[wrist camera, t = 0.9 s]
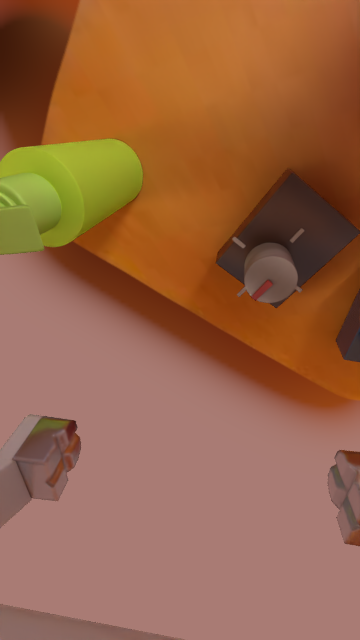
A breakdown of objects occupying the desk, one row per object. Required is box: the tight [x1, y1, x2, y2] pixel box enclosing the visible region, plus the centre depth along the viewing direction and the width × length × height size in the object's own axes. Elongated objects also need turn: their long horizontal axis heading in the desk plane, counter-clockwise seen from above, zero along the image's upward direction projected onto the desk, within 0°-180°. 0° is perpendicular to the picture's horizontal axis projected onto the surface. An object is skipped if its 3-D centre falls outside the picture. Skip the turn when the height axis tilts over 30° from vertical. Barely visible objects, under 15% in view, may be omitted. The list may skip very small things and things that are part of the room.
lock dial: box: [244, 243, 298, 303], centre depth 27 cm, size 4×4×4 cm
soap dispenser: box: [0, 139, 143, 255], centre depth 21 cm, size 6×7×20 cm
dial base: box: [216, 168, 360, 308], centre depth 29 cm, size 11×9×3 cm
